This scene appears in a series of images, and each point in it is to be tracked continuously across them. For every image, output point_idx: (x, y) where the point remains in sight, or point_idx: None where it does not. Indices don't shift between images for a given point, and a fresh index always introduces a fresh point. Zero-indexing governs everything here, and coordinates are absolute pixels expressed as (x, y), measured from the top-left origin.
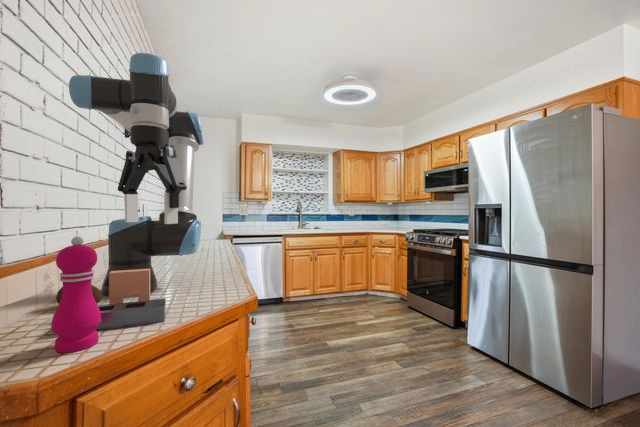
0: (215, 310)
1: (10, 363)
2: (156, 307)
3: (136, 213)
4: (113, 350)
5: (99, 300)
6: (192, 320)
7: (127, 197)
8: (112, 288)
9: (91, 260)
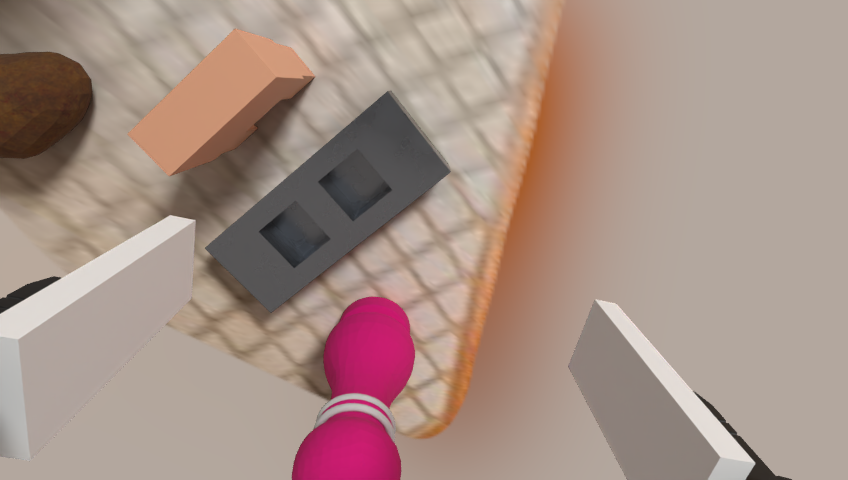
0: (542, 25)
1: None
2: (433, 185)
3: (160, 259)
4: (467, 327)
5: (87, 76)
6: (521, 135)
7: (57, 422)
8: (207, 159)
9: (400, 465)
